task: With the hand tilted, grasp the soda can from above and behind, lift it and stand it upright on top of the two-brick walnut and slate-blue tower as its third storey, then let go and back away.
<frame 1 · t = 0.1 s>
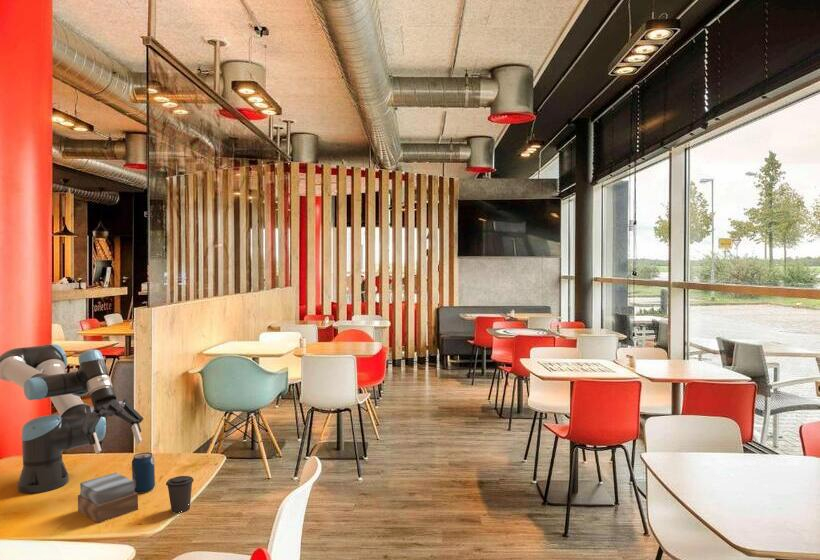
hand: (119, 447, 198), 15 cm above the table, tool tilted 35°, fingers open, 13 cm apart
brick tower: (108, 510, 184), on the table
soda can: (144, 490, 200), on the table
coffee cup: (180, 510, 183), on the table
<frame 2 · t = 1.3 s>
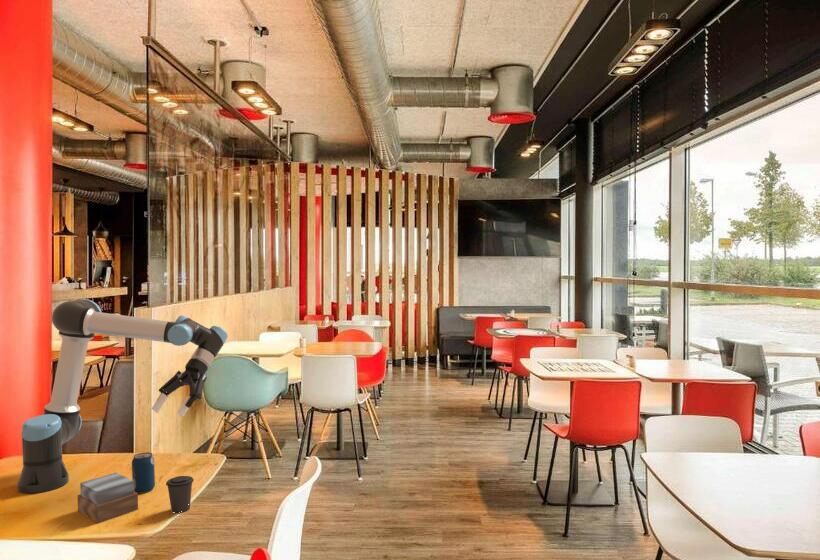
hand: (167, 412, 208), 24 cm above the table, tool tilted 45°, fingers open, 13 cm apart
nothing on the table moved.
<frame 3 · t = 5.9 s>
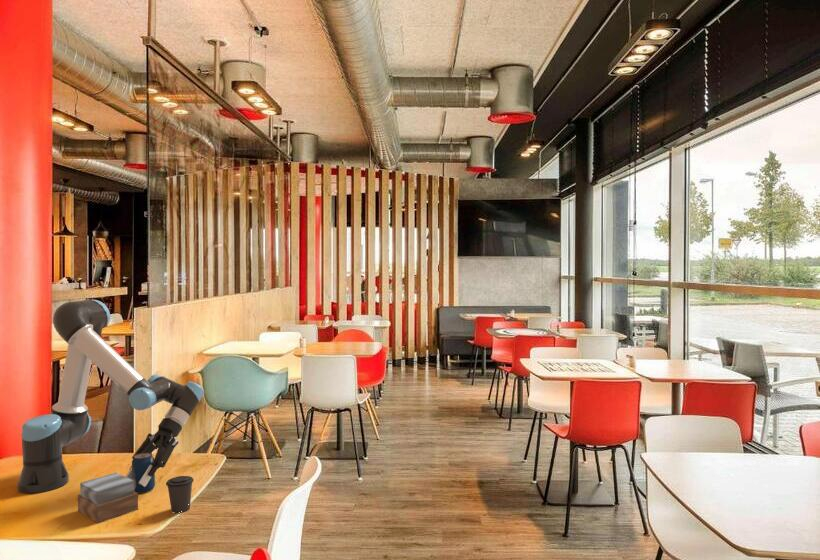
hand: (134, 482, 197), 4 cm above the table, tool tilted 45°, fingers closed on soda can, 7 cm apart
soda can: (144, 490, 200), on the table, touching gripper
everything else where it was.
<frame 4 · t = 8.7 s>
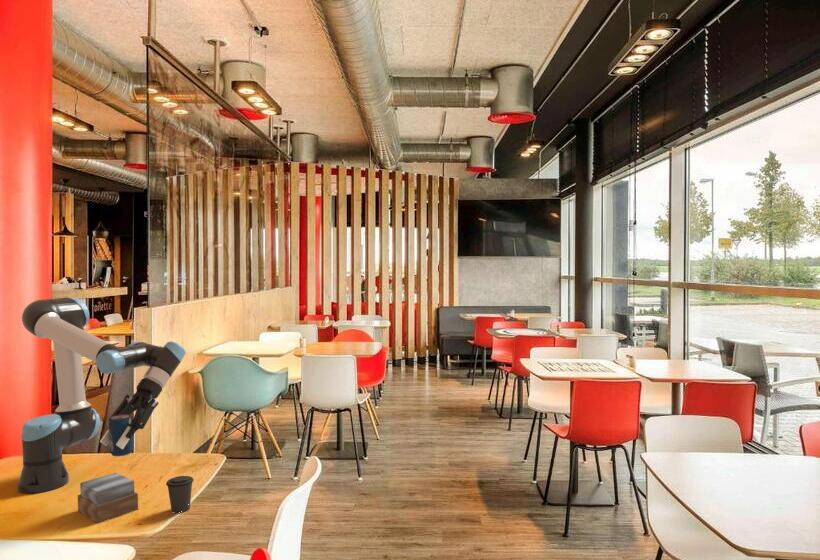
hand: (111, 445, 185), 20 cm above the table, tool tilted 45°, fingers closed on soda can, 7 cm apart
soda can: (121, 454, 188), point 16 cm above the table, touching gripper
everything else where it was.
when the fingers open (14 cm above the table, at t = 11.3 s): soda can drops 1 cm, resting on brick tower.
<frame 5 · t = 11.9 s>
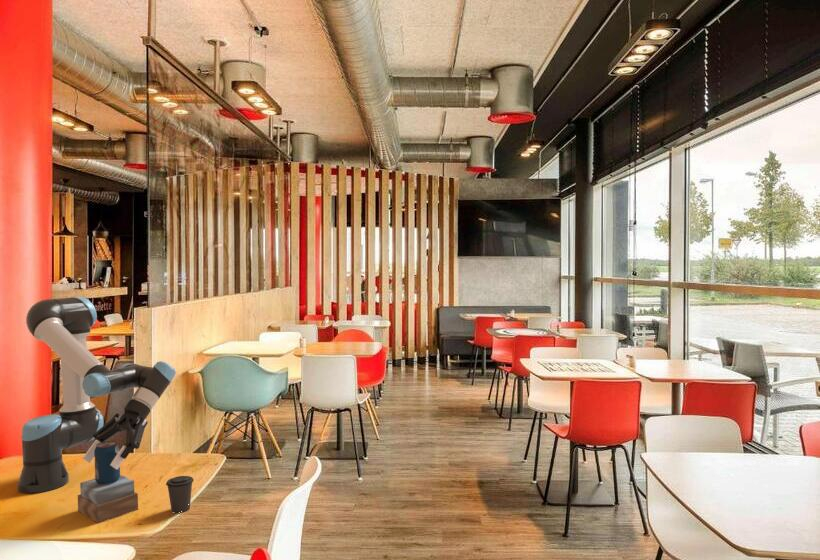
hand: (99, 464, 181), 15 cm above the table, tool tilted 45°, fingers open, 13 cm apart
soda can: (108, 482, 184), point 9 cm above the table, touching brick tower
everything else where it was.
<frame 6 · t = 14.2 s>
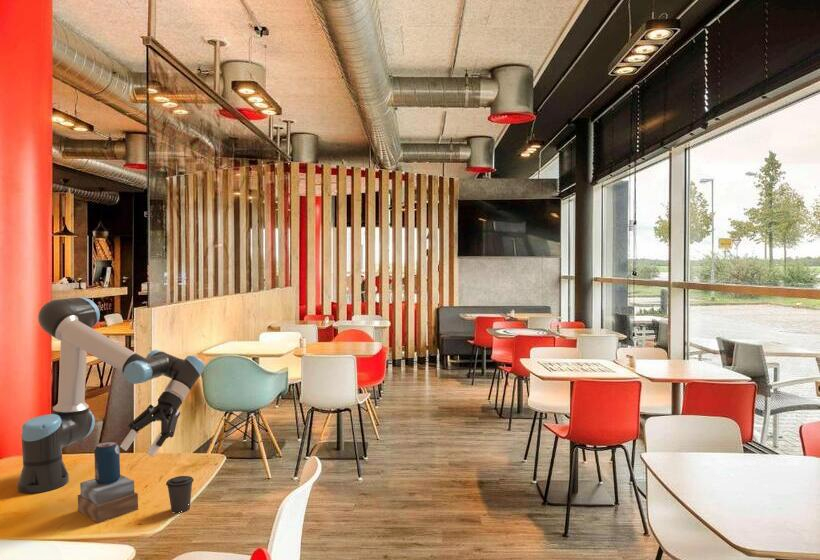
hand: (136, 451, 192), 15 cm above the table, tool tilted 45°, fingers open, 13 cm apart
nothing on the table moved.
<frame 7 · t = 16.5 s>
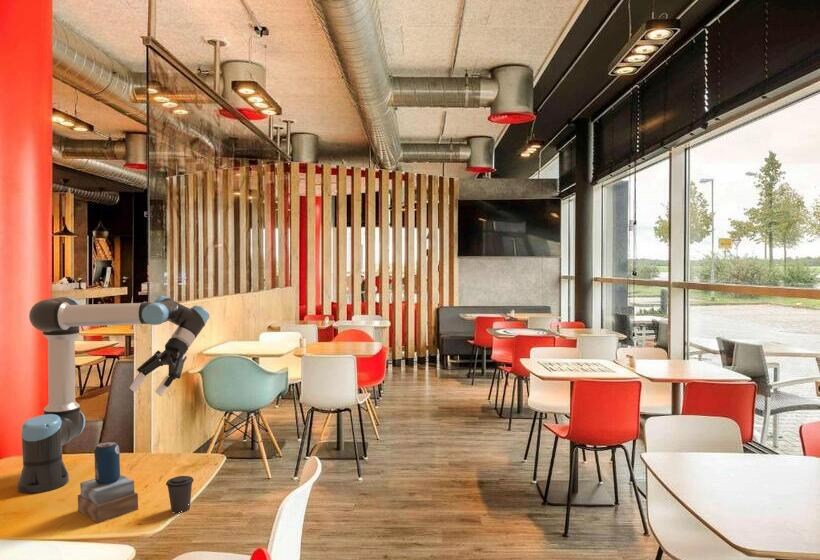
hand: (145, 392, 202), 33 cm above the table, tool tilted 45°, fingers open, 13 cm apart
nothing on the table moved.
at the end: soda can inside the target area on the brick tower (0.2 cm from its centre), point 8.8 cm above the brick tower's base; soda can tilted 0°; the gripper is holding nothing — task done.
